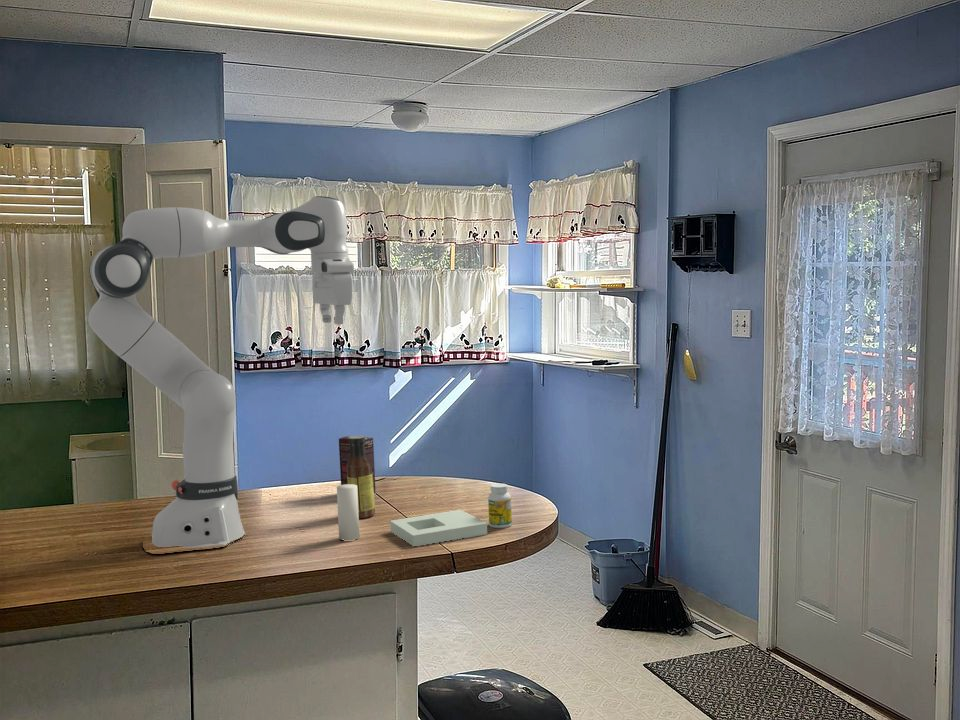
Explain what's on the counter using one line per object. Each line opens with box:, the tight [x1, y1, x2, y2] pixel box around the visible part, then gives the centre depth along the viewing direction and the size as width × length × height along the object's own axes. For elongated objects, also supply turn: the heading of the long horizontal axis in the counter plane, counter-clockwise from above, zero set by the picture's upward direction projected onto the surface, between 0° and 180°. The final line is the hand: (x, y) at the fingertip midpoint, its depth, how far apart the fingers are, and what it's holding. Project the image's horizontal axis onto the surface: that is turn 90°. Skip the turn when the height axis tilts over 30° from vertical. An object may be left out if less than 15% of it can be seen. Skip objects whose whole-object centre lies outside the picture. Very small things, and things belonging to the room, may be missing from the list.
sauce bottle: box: [347, 435, 376, 519], centre depth 227 cm, size 7×6×20 cm
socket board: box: [389, 509, 488, 547], centre depth 211 cm, size 18×14×3 cm
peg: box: [336, 484, 360, 540], centre depth 208 cm, size 5×5×12 cm
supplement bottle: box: [487, 482, 513, 529], centre depth 216 cm, size 5×5×10 cm
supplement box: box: [338, 435, 377, 497], centre depth 248 cm, size 9×5×16 cm, turn 58°
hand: (332, 323), depth 221 cm, fingers open, 8 cm apart
